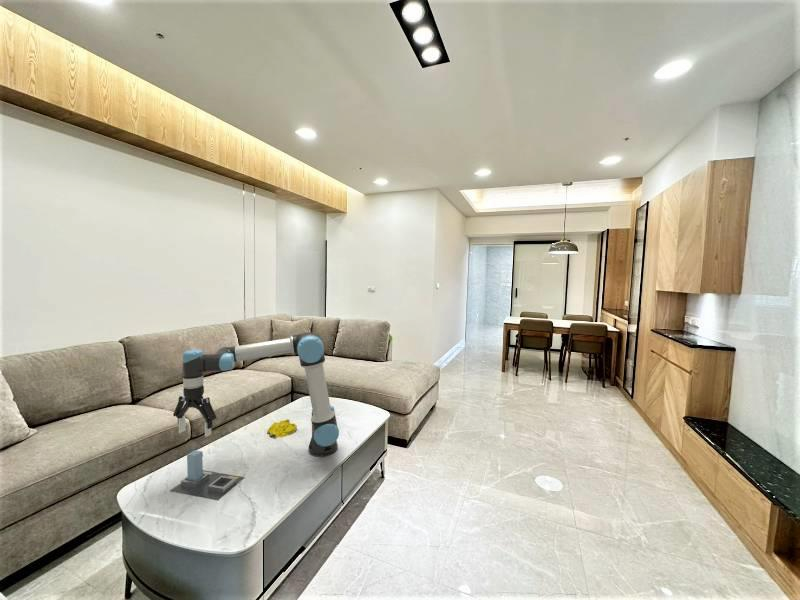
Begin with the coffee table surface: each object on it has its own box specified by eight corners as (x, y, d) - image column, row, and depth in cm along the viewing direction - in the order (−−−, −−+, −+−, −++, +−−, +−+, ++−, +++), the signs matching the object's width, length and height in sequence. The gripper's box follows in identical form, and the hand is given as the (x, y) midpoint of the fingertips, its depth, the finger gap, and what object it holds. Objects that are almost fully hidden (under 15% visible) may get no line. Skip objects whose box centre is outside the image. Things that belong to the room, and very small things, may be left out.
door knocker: (300, 432, 194) (300, 425, 194) (272, 440, 184) (272, 433, 184) (290, 422, 207) (290, 416, 207) (263, 429, 197) (263, 423, 197)
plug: (204, 478, 147) (204, 450, 146) (195, 485, 142) (194, 456, 141) (197, 476, 148) (196, 448, 147) (187, 483, 143) (187, 454, 142)
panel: (245, 479, 148) (245, 473, 148) (218, 502, 132) (217, 495, 132) (200, 471, 153) (200, 465, 153) (169, 493, 138) (169, 486, 137)
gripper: (224, 385, 143) (225, 432, 144) (177, 381, 148) (179, 426, 150) (211, 391, 135) (212, 441, 137) (162, 386, 141) (164, 434, 142)
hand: (195, 433), depth 143 cm, fingers open, 13 cm apart
